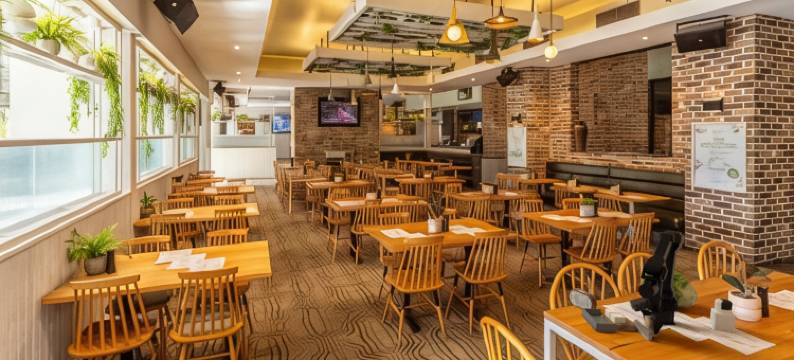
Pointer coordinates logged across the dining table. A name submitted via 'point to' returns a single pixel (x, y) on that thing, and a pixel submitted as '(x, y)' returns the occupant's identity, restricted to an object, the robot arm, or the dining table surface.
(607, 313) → the tile
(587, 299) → the tin
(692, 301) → the lettuce
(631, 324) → the board
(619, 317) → the tile
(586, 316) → the tray
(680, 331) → the dining table surface
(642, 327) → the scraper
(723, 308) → the medicine bottle
